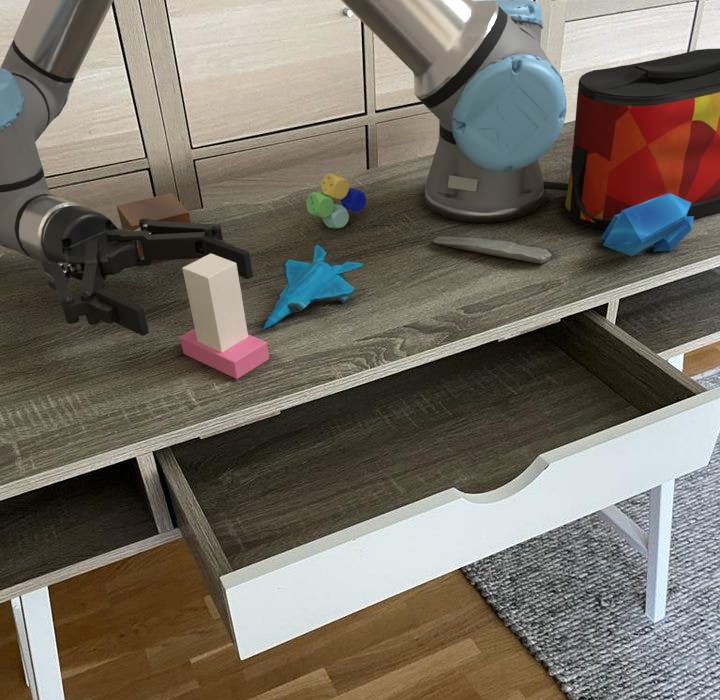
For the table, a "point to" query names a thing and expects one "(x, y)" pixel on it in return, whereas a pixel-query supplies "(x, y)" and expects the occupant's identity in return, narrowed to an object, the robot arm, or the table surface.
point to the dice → (327, 209)
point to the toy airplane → (311, 284)
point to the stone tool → (496, 248)
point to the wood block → (152, 212)
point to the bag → (647, 137)
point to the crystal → (650, 225)
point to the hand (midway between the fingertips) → (198, 292)
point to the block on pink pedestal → (219, 319)
